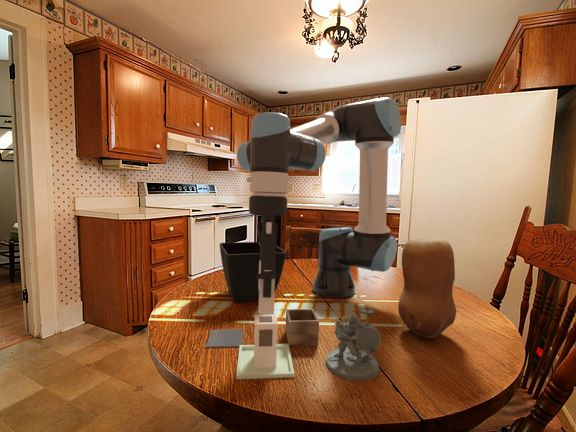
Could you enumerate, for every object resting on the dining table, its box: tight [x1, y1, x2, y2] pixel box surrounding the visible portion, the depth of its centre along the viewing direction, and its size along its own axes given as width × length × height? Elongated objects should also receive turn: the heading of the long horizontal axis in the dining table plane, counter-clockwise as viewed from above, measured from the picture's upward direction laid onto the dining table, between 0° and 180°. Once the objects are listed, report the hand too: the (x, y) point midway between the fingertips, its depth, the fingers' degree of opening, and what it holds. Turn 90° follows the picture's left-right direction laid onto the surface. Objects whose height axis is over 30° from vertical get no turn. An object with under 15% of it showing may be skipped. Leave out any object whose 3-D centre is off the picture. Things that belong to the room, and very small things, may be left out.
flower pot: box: [219, 241, 287, 304], centre depth 99 cm, size 19×19×17 cm
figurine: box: [325, 307, 382, 382], centre depth 60 cm, size 11×11×12 cm
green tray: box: [235, 343, 295, 380], centre depth 61 cm, size 11×11×1 cm
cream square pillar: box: [253, 314, 278, 368], centre depth 60 cm, size 5×5×9 cm
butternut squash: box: [397, 238, 457, 339], centre depth 74 cm, size 14×13×25 cm
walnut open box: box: [284, 308, 320, 347], centre depth 71 cm, size 7×7×6 cm
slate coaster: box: [205, 328, 245, 349], centre depth 70 cm, size 8×8×1 cm
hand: (265, 300), depth 60 cm, fingers open, 13 cm apart
